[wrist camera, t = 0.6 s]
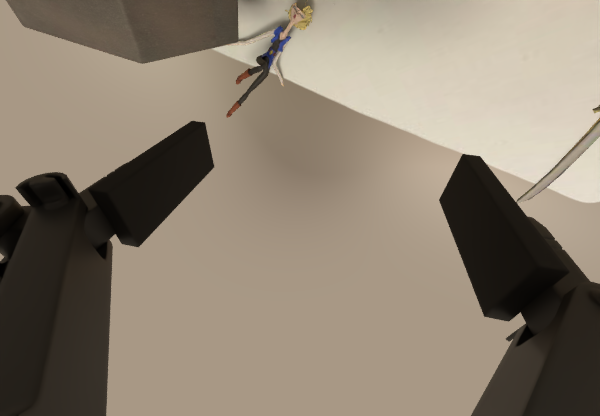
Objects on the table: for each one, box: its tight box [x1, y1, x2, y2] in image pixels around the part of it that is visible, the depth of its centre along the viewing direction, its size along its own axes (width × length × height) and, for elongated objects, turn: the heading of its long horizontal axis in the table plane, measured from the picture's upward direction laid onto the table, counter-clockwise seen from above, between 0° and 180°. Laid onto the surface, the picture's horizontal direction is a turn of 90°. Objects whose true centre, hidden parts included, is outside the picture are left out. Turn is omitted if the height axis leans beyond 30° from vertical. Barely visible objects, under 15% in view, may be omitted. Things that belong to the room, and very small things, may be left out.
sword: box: [516, 105, 600, 204], centre depth 36 cm, size 25×1×5 cm
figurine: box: [227, 1, 313, 117], centre depth 33 cm, size 10×9×20 cm
